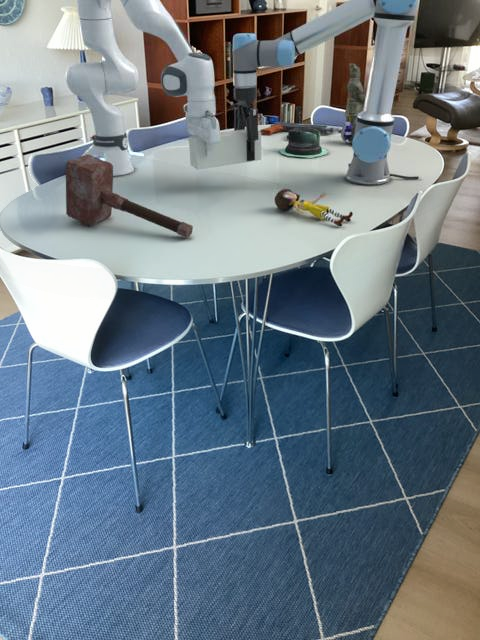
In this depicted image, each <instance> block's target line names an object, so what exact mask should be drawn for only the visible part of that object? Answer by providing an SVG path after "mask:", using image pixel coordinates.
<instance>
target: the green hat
mask: <svg viewBox="0 0 480 640" xmlns="http://www.w3.org/2000/svg"><path fill="white" fill-rule="evenodd" d="M288 134H289V139H287V140H288V141H287V142H288V143H287V145H286V146H285V147H283V148H281V149H280V150H279V153H280V154H282V155H285V156H289V157H296V158H297V157H298V158H307V159H309V158H310V159H311V158H313V159H314V158H317V157H323V156H326V155H327V154H328V150H326V149H325V148H322V146H321V144H320V142H321V132H319V131H318V130H316V129H311V128H298V129H294V130H291V131H288Z"/></svg>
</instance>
